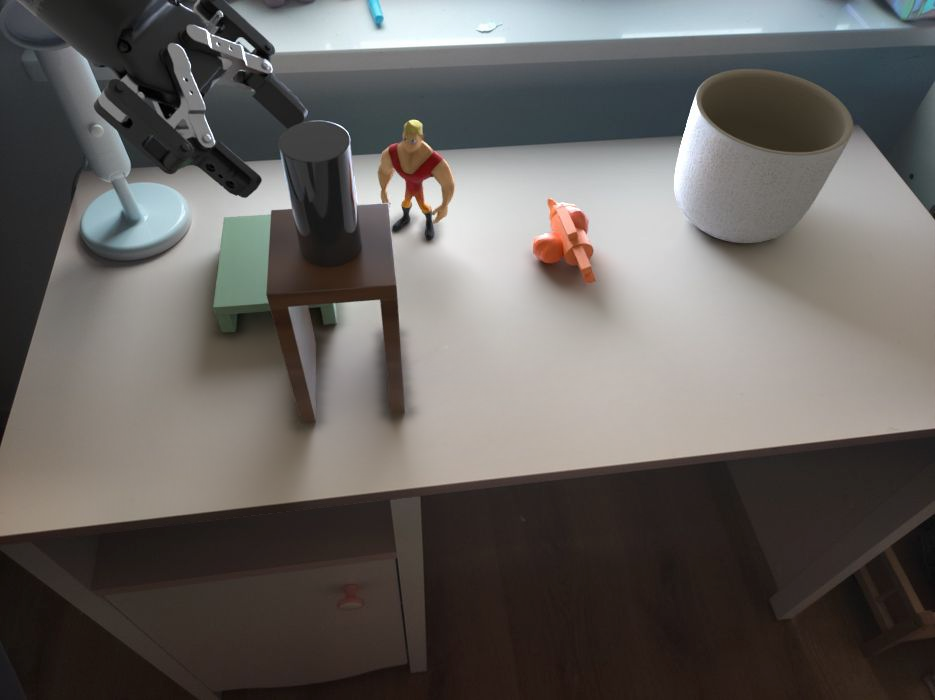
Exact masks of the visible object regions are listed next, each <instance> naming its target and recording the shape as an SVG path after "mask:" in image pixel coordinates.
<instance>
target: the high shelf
mask: <svg viewBox="0 0 935 700" xmlns="http://www.w3.org/2000/svg"><path fill="white" fill-rule="evenodd" d="M389 206H390V205H389V204H388V203H382V202H381V203H365V204H358V213H359V222H360V231H361V240H362V247H361V250H360V252H359V253H358V255H357V256H356V257H355V258H354V259H353V260H351V261H349V262H347V263H345V264H343V265H339V266H334V267H323V266H318V265H315V264H312V263H310V262H309V261H307V260H306V259H305V258H304V257H303V256H302V254H301V252H300V247H299V242H298V237H297V232H296V228H295V223H294V218H293V213H292V208H285V209H283V208H281V209H271V210H270V214H271V221H270V238H269V256H268V273H267V290H266V296H267V299H268V303H269V307H270V310H271V311H270V314H271V318H272V321H273V324H274V328H275V332H276V336H277V339H278V342H279V346H280V350H281V354H282V357H283V361H284V365H285V368H286V372H287V375H288V380H289V383H290V387H291V390H292V395H293V397H294V401H295V405H296V408H297V412H298V415H299V419H300V423H301V424H304V423H305V424H306V423H316V422H317V341H316V337H315V336H316V335H315V332H314V327H313V323H312V318H311V313H310V308H308V305H319V304H332V303H336V304H343V303H357V302H359V303H360V302H369V301H370V302H373V301H379V304H380V313H381V314H380V315H381V325H382V335H383V336H382V337H383V345H384V346H383V347H384V356H385V357H384V358H385V368H386V377H387V380H386V381H387V389H388V390H387V391H388V400H389V411H390V415H392V416H393V415H401V414H406V408H405V407H406V406H405V405H406V404H405V391H404V374H403V361H402V359H403V358H402V347H401V345H402V344H401V343H402V342H401V329H400V315H399V314H400V313H399V312H400V311H399V299H398V296H399V295H398V286H397V285H398V284H397V283H398V282H397V274H396V264H395V263H396V262H395V253H394V244H393V233H392V225H391V213H390V207H389Z"/></svg>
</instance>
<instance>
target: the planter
mask: <svg viewBox="0 0 935 700" xmlns="http://www.w3.org/2000/svg"><path fill="white" fill-rule="evenodd" d="M685 126H686V127H685V130H684V133H683V137H682V140H681V144H680V147H679V151H678V155H677V160H676V163H675V172H674V179H673V189H674V195H675V196H674V197H675V199H676V203H677V205H678V207H679V209H680V210H681V211H682V213H683V215H684V216H685V217H686V218H687V220H688V221H690V222H691V224H693V225H694V226H695V227H696V228H698V229H699V230H700V231H702V232H703V233H705V234H707V235H709V236H711V237H714V238H716V239H719V240H721V241H724V242H725V241H726V242H729V243H737V244H756V243H761V242H767V241H769V240H773V239H776V238H779V237H780V236H782V235H784V234H786V233H787V232H789V231H790V230H792V229H793V228H794V227H795V226H796V225H797V224H798V223H799V222H800V221H801V220H802V219H803V218H804V216H805V215H806V214H807V212H808V211H809V210H810V208H811V207H812V205H813V204H814V203H815V201H816V199H817V197H818V196H819V194H820V192H821V191H822V189H823V187H824V185H825V184H826V182H827V180H828V178H829V177H830V175H831V173H832V172H833V170H834V168H835V166H836V164H837V163H838V161H839V159H840V158H841V156H842V154H843V152H844V151H845V149H846V147H847V146H848V145H847V144H848V143H849V141H850V139H851V137H852V135H853V131H854V121H853V118H852V115H851V113H850V111H849V109H848V108H847V107H846V106H845V104H844V103H843V102H842V101H841V100H840V99H838V98H837V97H836V96H835V95H834V94H832V93H831V92H830V91H828V90H826V89H825V88H823V87H821V86H820V85H818V84H816V83H814V82H812V81H809V80H807V79H805V78H802V77H800V76H796V75H793V74H789V73H786V72H781V71H778V70H777V71H776V70H770V69H764V68H763V69H761V68H739V69H731V70H726V71H722V72H720V73H716V74H714V75H711V76H710V77H708V78H707V79H705V80H704V81H703V82H702V83H701V84H700V85H699V86H698V88H697V90H696V92H695V95H694V99H693V101H692V105H691V107H690V111H689V115H688V118H687V122H686V125H685Z"/></svg>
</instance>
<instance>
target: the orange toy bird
mask: <svg viewBox="0 0 935 700" xmlns="http://www.w3.org/2000/svg"><path fill="white" fill-rule="evenodd" d="M547 206H548V210H549V213H548V217H549V222H550V223H549V226H550V229H551V231H552V232H544V233H543V234H542V235H536V236H535V237H534V238H533V242H532V253H533V254H534V256H535V257H536V258H537V259H539V260H541V261H542V262H543V263H545V264H554V263H557V262H560V261H561V260H562V259H563V258H564V261H565V263H566V264H568V265H570V266H577V267H578V269H579V272H580V273H581V276H582V278H583V280H584V283H585V284H586V285H589V284H592V283H594V282H596V276H595V274H594V271H593V266H592V264H591V262H590V259H591V258H592V257H593V255H594V247H593V245H592V243H591V241H590V239H589V236H588V232H589V218H588V215H587V214H586V213H585V212H584V211H583V210H581V209H580V208H579V207H578V206H577V205H576V204H574V203H565V202H557V201H556V200H555V199H553V198H552V197H550V198H548V199H547Z"/></svg>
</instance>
